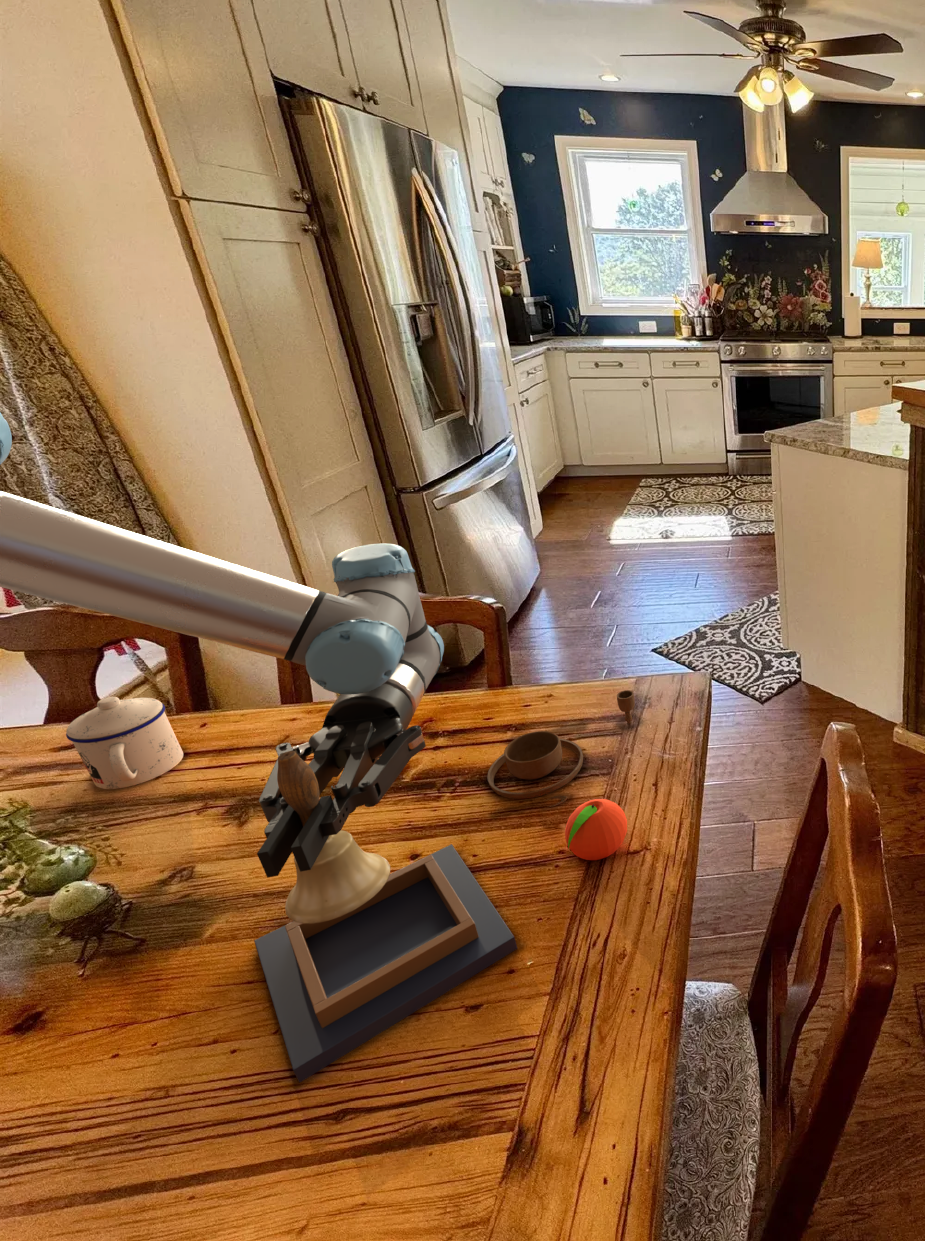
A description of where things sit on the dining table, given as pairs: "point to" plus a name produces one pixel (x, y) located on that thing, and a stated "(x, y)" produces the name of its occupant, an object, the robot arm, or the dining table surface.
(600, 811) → the clementine
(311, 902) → the hand bell
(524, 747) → the place setting
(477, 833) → the dining table surface
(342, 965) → the bell stand
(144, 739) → the teacup with lid
